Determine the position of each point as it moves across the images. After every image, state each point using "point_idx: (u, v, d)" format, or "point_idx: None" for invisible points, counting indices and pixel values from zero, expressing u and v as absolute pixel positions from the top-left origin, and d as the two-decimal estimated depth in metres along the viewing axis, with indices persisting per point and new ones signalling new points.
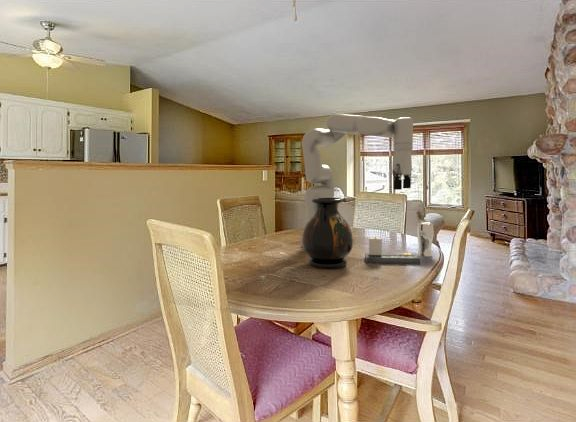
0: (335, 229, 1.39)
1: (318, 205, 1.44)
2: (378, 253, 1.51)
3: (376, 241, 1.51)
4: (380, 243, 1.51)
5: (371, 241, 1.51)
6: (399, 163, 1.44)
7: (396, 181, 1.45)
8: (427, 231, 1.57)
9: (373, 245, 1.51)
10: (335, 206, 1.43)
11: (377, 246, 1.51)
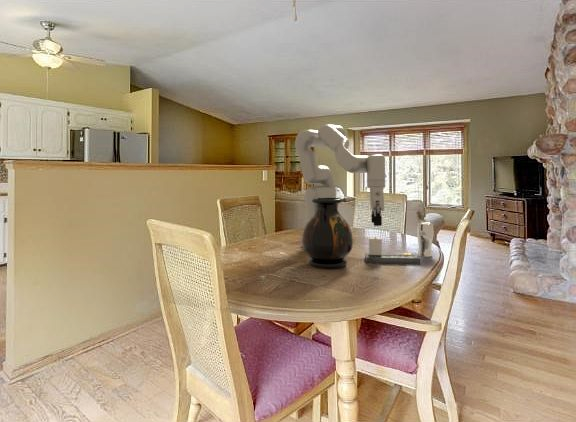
0: (335, 229, 1.39)
1: (318, 205, 1.44)
2: (378, 253, 1.51)
3: (376, 241, 1.51)
4: (380, 243, 1.51)
5: (371, 241, 1.51)
6: None
7: None
8: (427, 231, 1.57)
9: (373, 245, 1.51)
10: (335, 206, 1.43)
11: (377, 246, 1.51)
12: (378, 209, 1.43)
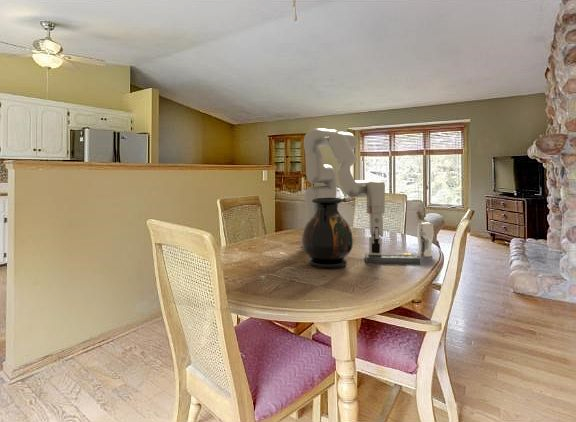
0: (335, 229, 1.39)
1: (318, 205, 1.44)
2: (378, 253, 1.51)
3: None
4: (380, 243, 1.51)
5: (371, 241, 1.51)
6: None
7: None
8: (427, 231, 1.57)
9: None
10: (335, 206, 1.43)
11: None
12: (376, 239, 1.47)
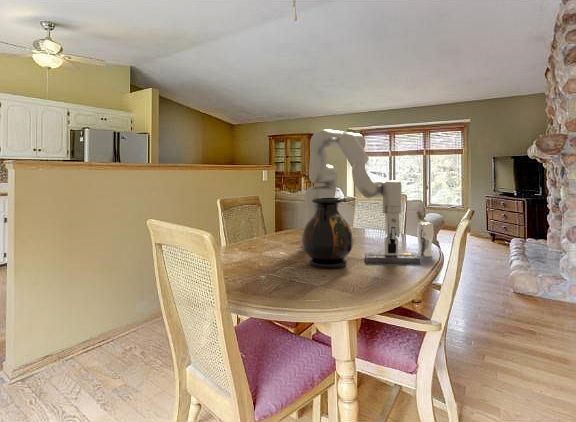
0: (335, 229, 1.39)
1: (318, 205, 1.44)
2: (394, 253, 1.50)
3: None
4: (396, 243, 1.50)
5: (387, 241, 1.50)
6: None
7: None
8: (427, 231, 1.57)
9: None
10: (335, 206, 1.43)
11: None
12: (393, 239, 1.46)
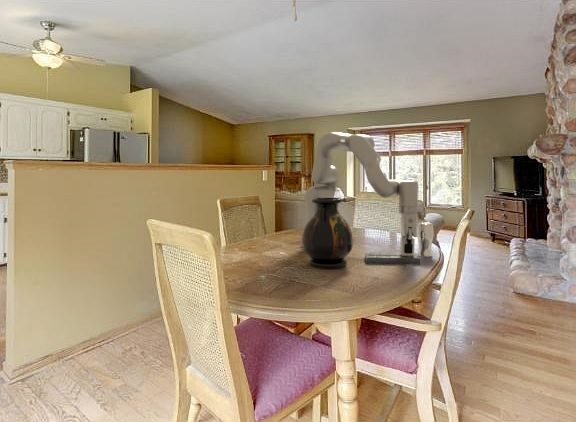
0: (335, 229, 1.39)
1: (318, 205, 1.44)
2: (411, 253, 1.50)
3: None
4: (413, 243, 1.49)
5: (403, 241, 1.49)
6: None
7: None
8: (427, 231, 1.57)
9: None
10: (335, 206, 1.43)
11: None
12: (410, 240, 1.45)
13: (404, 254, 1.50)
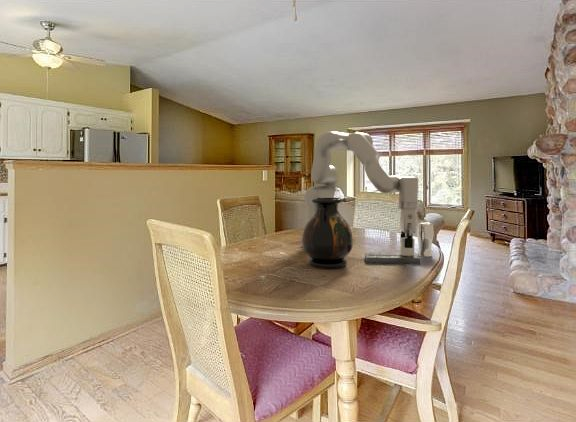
0: (335, 229, 1.39)
1: (318, 205, 1.44)
2: (411, 253, 1.50)
3: None
4: (413, 243, 1.49)
5: (404, 241, 1.49)
6: None
7: None
8: (427, 231, 1.57)
9: None
10: (335, 206, 1.43)
11: None
12: (410, 232, 1.43)
13: (404, 254, 1.50)
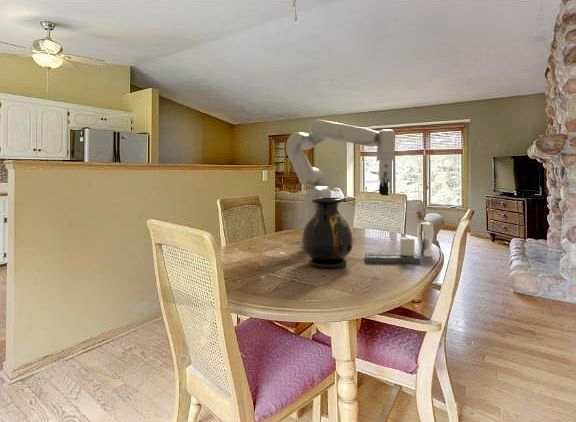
0: (335, 229, 1.39)
1: (318, 205, 1.44)
2: (411, 253, 1.50)
3: (409, 241, 1.49)
4: (413, 243, 1.49)
5: (404, 241, 1.49)
6: None
7: None
8: (427, 231, 1.57)
9: (406, 245, 1.49)
10: (335, 206, 1.43)
11: (410, 246, 1.49)
12: (386, 179, 1.55)
13: (404, 254, 1.50)
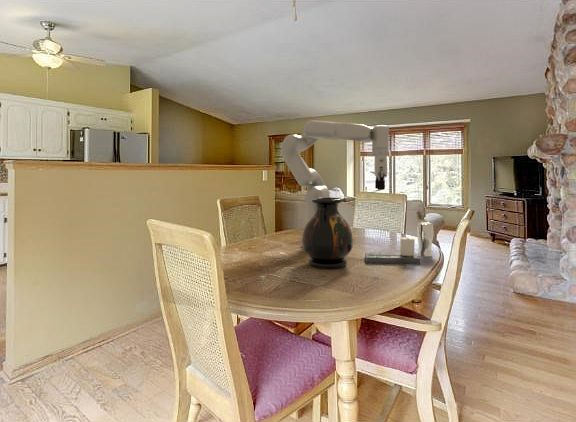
0: (335, 229, 1.39)
1: (318, 205, 1.44)
2: (411, 253, 1.50)
3: (409, 241, 1.49)
4: (413, 243, 1.49)
5: (404, 241, 1.49)
6: None
7: None
8: (427, 231, 1.57)
9: (406, 245, 1.49)
10: (335, 206, 1.43)
11: (410, 246, 1.49)
12: (382, 174, 1.58)
13: (404, 254, 1.50)
